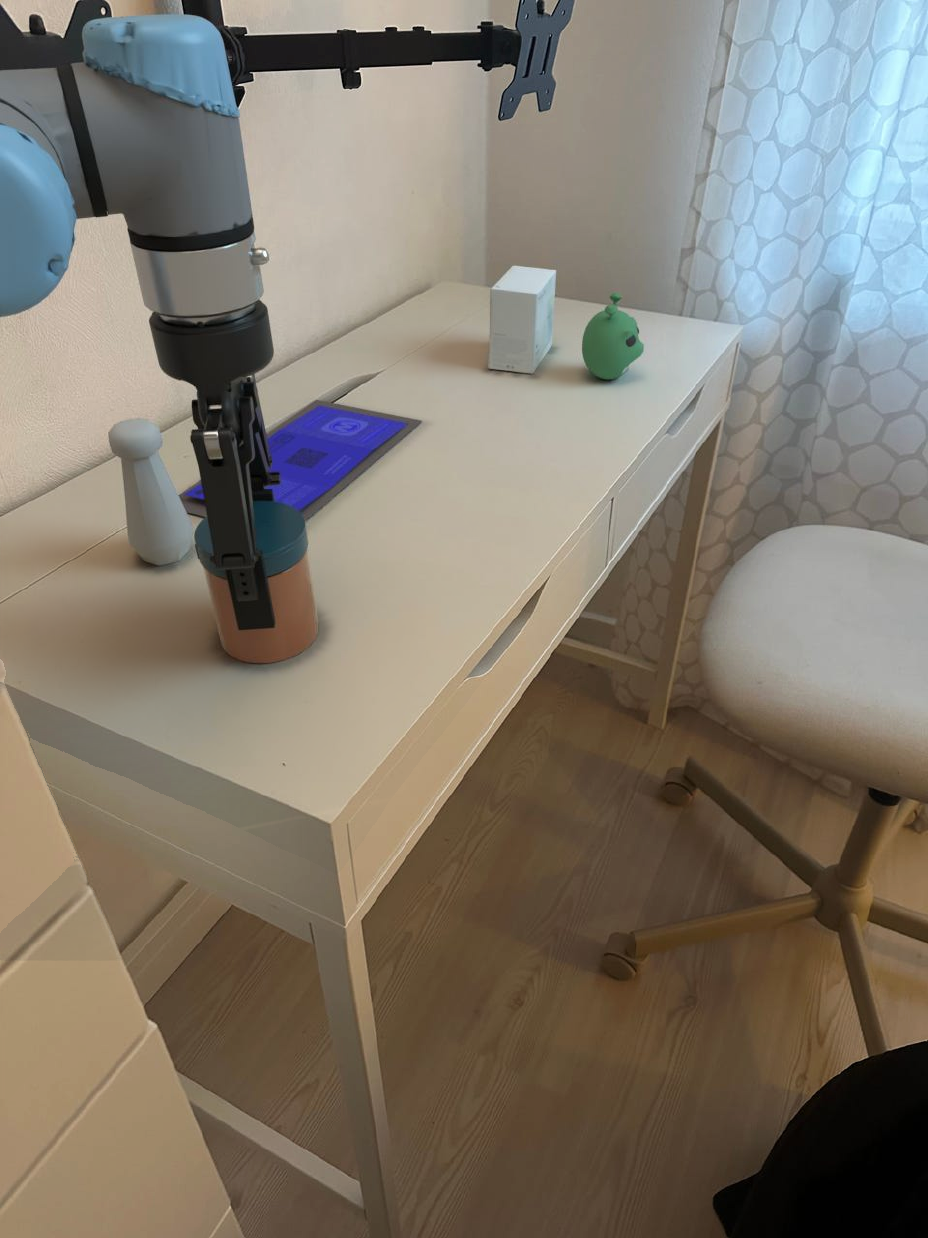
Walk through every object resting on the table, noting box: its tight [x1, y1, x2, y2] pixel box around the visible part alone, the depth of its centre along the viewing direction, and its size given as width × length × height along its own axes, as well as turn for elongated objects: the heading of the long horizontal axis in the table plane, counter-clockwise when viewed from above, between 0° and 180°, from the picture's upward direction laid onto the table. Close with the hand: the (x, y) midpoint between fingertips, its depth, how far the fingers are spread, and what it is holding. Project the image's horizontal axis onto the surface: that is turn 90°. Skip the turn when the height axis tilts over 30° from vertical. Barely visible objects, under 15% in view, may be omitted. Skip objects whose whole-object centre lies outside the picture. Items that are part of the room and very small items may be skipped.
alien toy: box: [581, 292, 645, 380], centre depth 111 cm, size 7×8×10 cm
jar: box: [202, 549, 320, 664], centre depth 71 cm, size 8×8×10 cm
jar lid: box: [193, 501, 309, 578], centre depth 68 cm, size 8×8×2 cm
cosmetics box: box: [487, 265, 557, 375], centre depth 117 cm, size 10×6×10 cm, turn 162°
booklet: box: [183, 407, 404, 511], centre depth 97 cm, size 12×25×1 cm, turn 154°
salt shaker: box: [107, 417, 194, 567], centre depth 80 cm, size 6×6×13 cm
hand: (262, 591), depth 71 cm, fingers closed on jar lid, 8 cm apart
